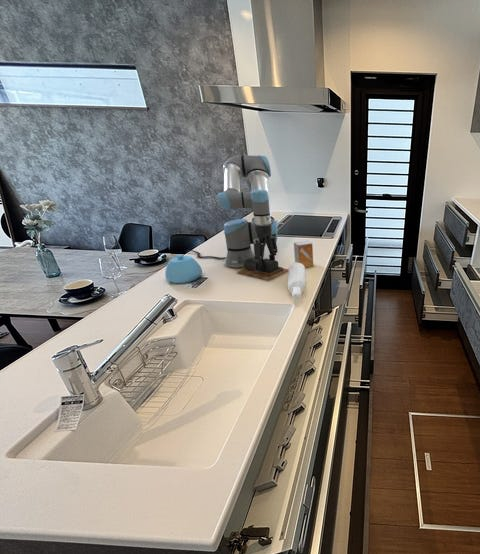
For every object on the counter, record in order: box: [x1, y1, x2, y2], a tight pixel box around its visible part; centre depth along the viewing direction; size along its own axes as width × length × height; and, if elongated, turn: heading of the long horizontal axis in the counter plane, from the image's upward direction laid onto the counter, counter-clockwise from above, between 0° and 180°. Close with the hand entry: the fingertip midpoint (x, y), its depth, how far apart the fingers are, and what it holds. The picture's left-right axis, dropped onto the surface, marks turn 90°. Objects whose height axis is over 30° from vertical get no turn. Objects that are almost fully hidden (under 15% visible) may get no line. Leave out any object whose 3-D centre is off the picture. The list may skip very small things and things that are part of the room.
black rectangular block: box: [257, 258, 279, 273], centre depth 151 cm, size 8×6×5 cm
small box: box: [293, 240, 314, 269], centre depth 161 cm, size 8×6×13 cm
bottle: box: [287, 262, 307, 303], centre depth 134 cm, size 8×8×30 cm
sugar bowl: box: [164, 253, 203, 284], centre depth 142 cm, size 15×15×12 cm
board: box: [237, 257, 289, 282], centre depth 153 cm, size 20×14×6 cm
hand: (268, 269), depth 152 cm, fingers closed on black rectangular block, 6 cm apart
